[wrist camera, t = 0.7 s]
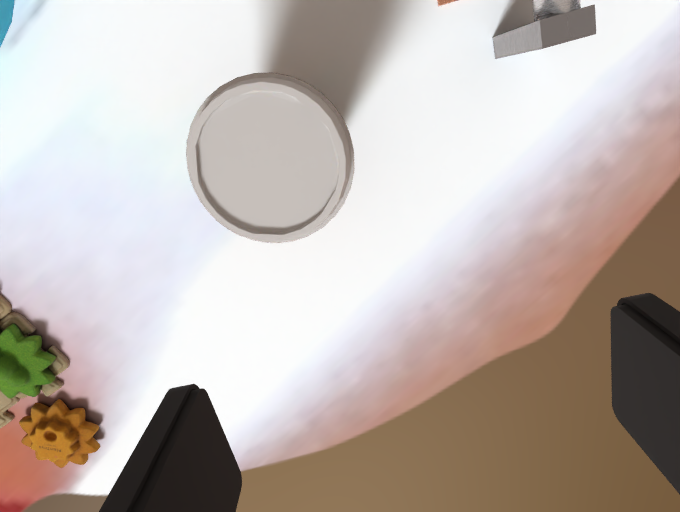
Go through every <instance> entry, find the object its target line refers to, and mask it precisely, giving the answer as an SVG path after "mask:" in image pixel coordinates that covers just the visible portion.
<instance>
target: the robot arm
mask: <svg viewBox="0 0 680 512" xmlns="http://www.w3.org/2000/svg"><path fill="white" fill-rule="evenodd" d="M611 367H612V368H611V370H612V407H613V410H614V413H615V415H616V417H617V419H618V420H619V422H620V423H621V424H622V425H623V427H624V428H625V429H626V430H627V431H628V433H629V434H630V435H631V436H632V438H633V439H634V440H635V441H636V442H637V444H638V445H639V446H640V447H641V448H642V450H643V451H644V452H645V453H646V454H647V456H648V457H649V458H650V459H651V460H652V461H653V463H654V464H655V465H656V466H657V468H658V469H659V470H660V471H661V472H662V474H663V475H664V476H665V477H666V478H667V480H668V481H669V482H670V483H671V484H672V485H673V487H674V488H675V489H676V490H677V492H678V493H679V494H680V312H679V311H678V310H676V309H675V308H673V307H672V306H670V305H669V304H667V303H666V302H664V301H663V300H661V299H660V298H658V297H657V296H655V295H653V294H651V293H645V294H640V295H635V296H630V297H625V298H621V299H620V300H619V301H618V303H617V306H615V307H613V308H612V309H611ZM241 486H242V477H241V472H240V469H239V467H238V464H237V462H236V460H235V457H234V455H233V453H232V450H231V448H230V446H229V443H228V441H227V438H226V436H225V434H224V431H223V429H222V427H221V424H220V422H219V419H218V417H217V415H216V412H215V410H214V408H213V405H212V403H211V400H210V398H209V396H208V393H207V392H206V390H205V389H199V387H198V386H197V385H195V384H191V385H186V386H181V387H176V388H172V389H169V391H168V392H167V393H166V395H165V397H164V399H163V400H162V402H161V404H160V406H159V407H158V409H157V411H156V413H155V414H154V416H153V418H152V420H151V421H150V423H149V425H148V427H147V428H146V430H145V432H144V434H143V435H142V437H141V439H140V441H139V442H138V444H137V446H136V448H135V449H134V451H133V453H132V455H131V456H130V458H129V460H128V462H127V463H126V465H125V467H124V469H123V470H122V472H121V474H120V476H119V477H118V479H117V481H116V483H115V484H114V486H113V488H112V490H111V491H110V493H109V495H108V497H107V498H106V500H105V502H104V504H103V505H102V507H101V509H100V511H99V512H236V508H237V503H238V499H239V495H240V491H241Z"/></svg>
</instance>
